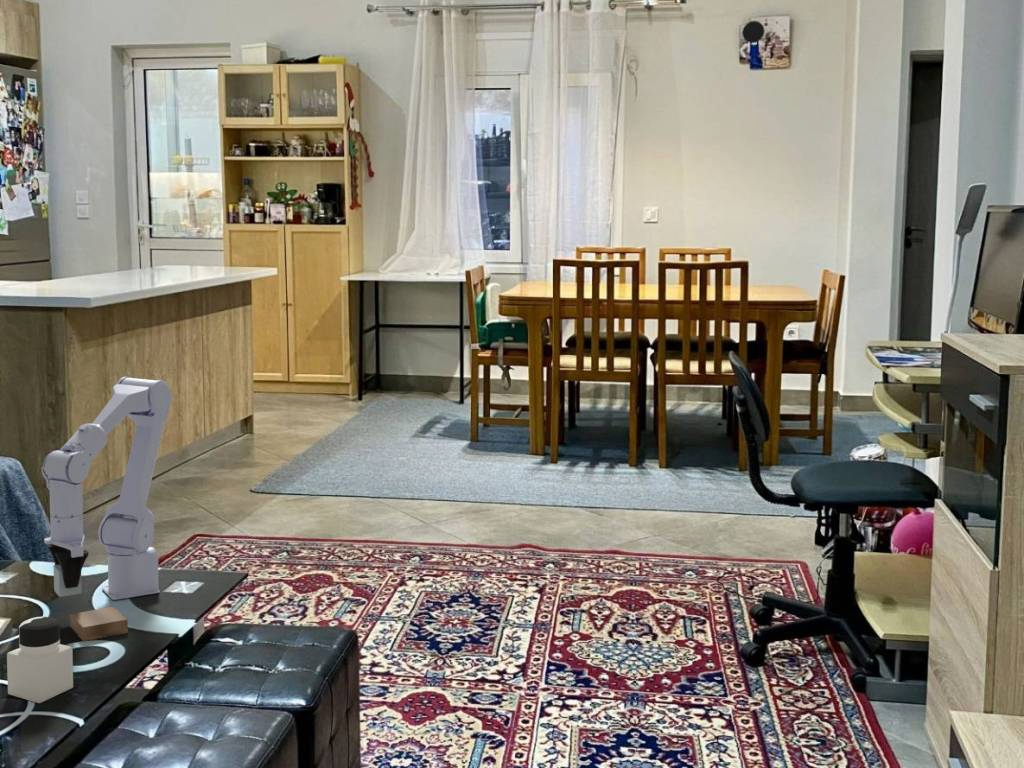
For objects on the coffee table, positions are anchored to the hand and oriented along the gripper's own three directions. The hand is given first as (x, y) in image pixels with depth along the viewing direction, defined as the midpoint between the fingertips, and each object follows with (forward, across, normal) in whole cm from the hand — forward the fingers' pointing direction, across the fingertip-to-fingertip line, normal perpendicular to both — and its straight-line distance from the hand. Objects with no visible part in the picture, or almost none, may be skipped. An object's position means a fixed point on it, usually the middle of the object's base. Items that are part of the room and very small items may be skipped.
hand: (68, 583), depth 211 cm
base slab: (+8, +8, +3) cm, 12 cm away
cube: (+2, 0, 0) cm, 2 cm away
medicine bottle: (+7, +30, -12) cm, 33 cm away
